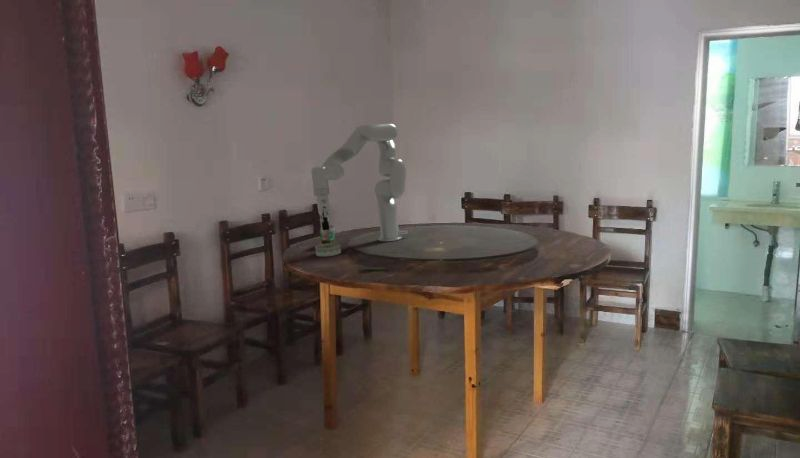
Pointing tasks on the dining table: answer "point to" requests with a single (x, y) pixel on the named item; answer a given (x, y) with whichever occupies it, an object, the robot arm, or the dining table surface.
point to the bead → (328, 249)
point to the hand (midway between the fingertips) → (325, 228)
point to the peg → (324, 231)
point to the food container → (332, 238)
